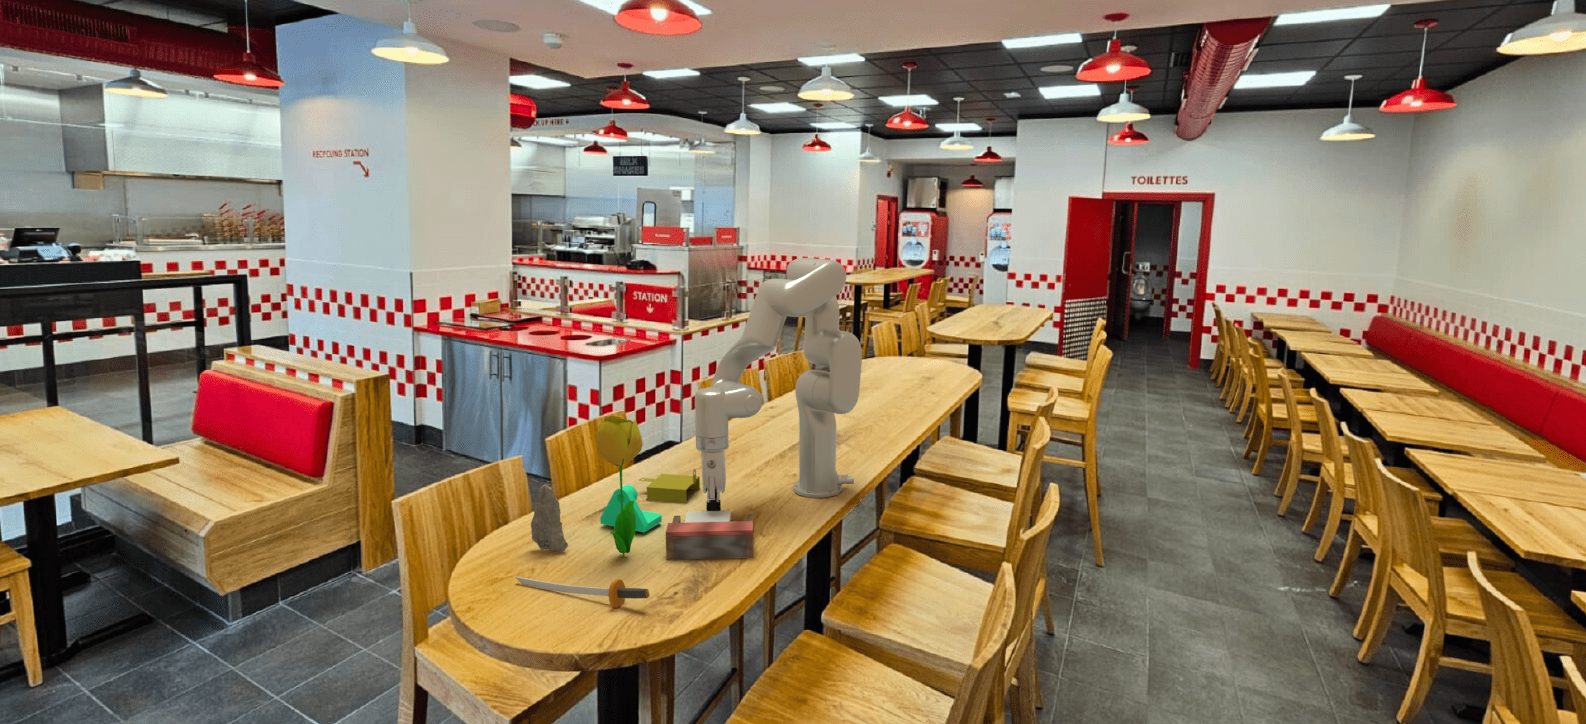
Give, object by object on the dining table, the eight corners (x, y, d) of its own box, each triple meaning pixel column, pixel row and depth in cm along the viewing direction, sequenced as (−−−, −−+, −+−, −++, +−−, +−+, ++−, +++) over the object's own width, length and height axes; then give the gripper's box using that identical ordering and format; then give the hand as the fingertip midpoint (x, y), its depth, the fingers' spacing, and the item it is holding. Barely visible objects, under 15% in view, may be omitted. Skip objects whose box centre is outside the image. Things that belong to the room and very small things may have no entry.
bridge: (752, 524, 183) (752, 499, 181) (753, 557, 165) (752, 530, 164) (674, 525, 182) (673, 501, 180) (666, 559, 164) (665, 532, 163)
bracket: (650, 456, 210) (704, 459, 207) (651, 484, 211) (704, 488, 208) (626, 475, 195) (684, 479, 192) (627, 505, 196) (685, 509, 193)
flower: (623, 568, 160) (617, 425, 154) (595, 559, 164) (588, 419, 158) (652, 553, 167) (647, 415, 161) (624, 545, 171) (618, 410, 166)
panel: (730, 524, 183) (730, 510, 183) (728, 553, 168) (727, 538, 167) (687, 525, 183) (687, 511, 182) (680, 554, 167) (680, 539, 167)
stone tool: (572, 549, 169) (569, 482, 166) (564, 555, 166) (560, 487, 163) (538, 545, 171) (533, 479, 168) (529, 551, 168) (525, 484, 165)
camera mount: (663, 524, 183) (662, 482, 181) (644, 536, 176) (642, 492, 174) (621, 516, 188) (619, 475, 186) (600, 528, 181) (598, 485, 179)
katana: (508, 588, 152) (506, 564, 151) (523, 579, 156) (521, 555, 155) (643, 618, 140) (642, 592, 139) (655, 607, 144) (655, 581, 143)
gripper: (727, 450, 174) (728, 529, 178) (729, 432, 189) (730, 505, 192) (693, 451, 174) (695, 529, 177) (698, 432, 189) (699, 505, 192)
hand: (713, 516), depth 185 cm, fingers closed
